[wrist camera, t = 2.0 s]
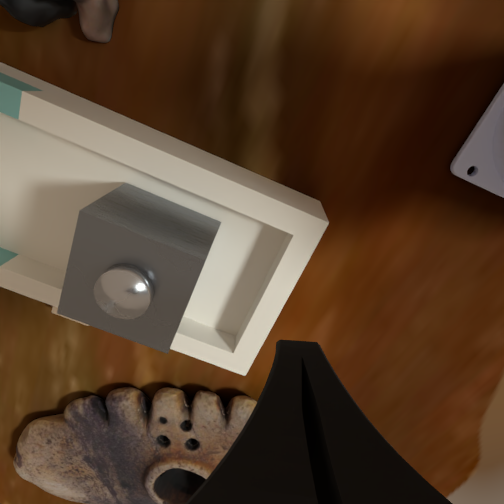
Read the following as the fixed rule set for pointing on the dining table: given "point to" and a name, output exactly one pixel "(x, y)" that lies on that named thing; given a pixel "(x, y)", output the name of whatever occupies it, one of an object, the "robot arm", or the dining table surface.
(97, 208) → the rider
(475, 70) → the dining table surface
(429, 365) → the dining table surface
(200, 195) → the white rectangular tray
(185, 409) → the mask
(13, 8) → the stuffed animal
